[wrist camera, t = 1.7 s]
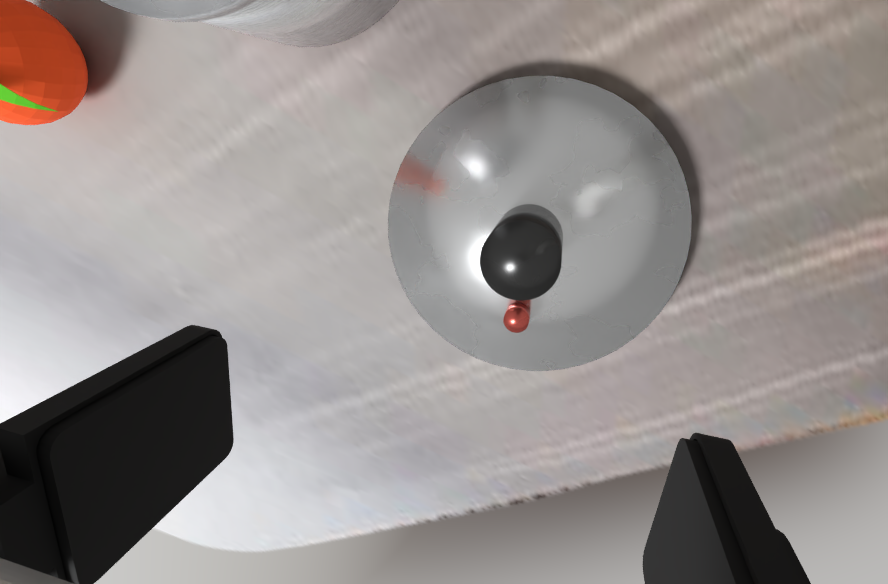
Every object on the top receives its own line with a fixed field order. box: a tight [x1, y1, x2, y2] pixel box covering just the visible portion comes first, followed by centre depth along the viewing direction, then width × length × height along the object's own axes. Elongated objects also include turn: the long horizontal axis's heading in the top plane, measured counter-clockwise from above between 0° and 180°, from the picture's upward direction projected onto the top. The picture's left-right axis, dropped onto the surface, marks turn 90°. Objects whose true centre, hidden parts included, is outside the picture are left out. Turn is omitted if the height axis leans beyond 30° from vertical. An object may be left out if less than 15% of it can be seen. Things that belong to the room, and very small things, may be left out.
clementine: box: [0, 0, 88, 125], centre depth 28 cm, size 8×7×7 cm
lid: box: [388, 76, 692, 371], centre depth 24 cm, size 16×16×6 cm
